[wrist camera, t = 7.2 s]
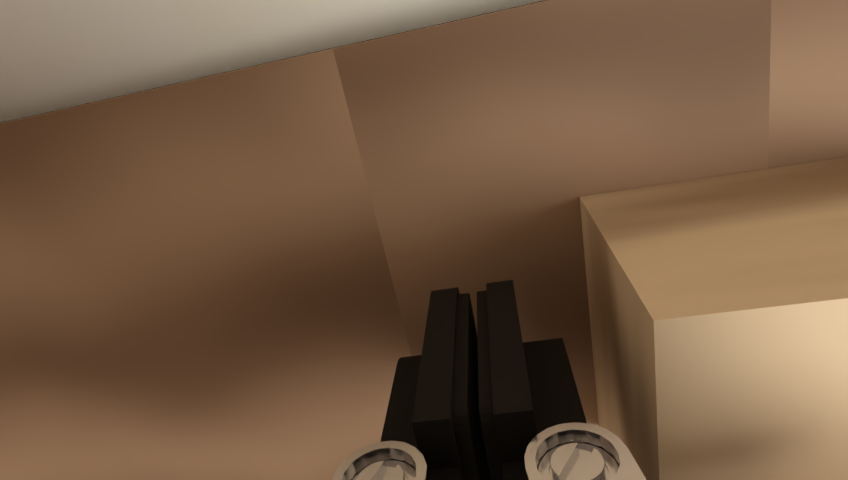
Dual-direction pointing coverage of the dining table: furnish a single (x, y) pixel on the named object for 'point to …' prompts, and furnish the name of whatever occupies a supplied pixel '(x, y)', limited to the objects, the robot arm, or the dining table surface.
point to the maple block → (724, 323)
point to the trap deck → (358, 219)
